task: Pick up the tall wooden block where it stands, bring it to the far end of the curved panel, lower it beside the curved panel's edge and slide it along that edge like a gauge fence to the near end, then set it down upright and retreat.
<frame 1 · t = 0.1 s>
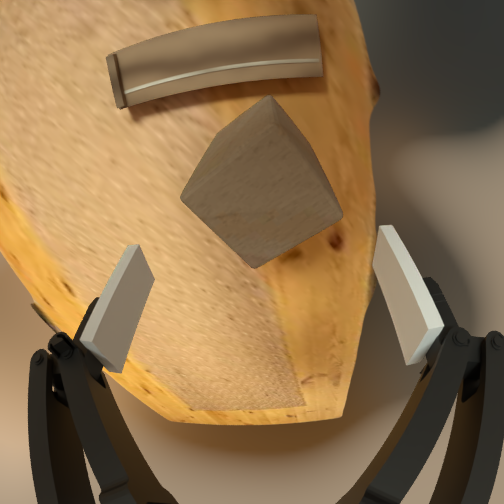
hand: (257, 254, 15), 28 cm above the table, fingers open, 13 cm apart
wooden block: (263, 139, 38), on the table
curved panel: (212, 55, 30), on the table
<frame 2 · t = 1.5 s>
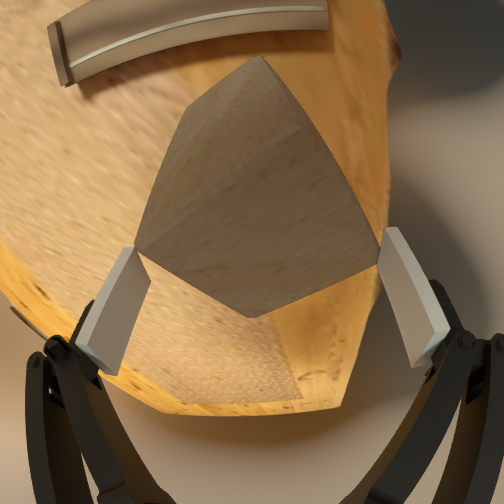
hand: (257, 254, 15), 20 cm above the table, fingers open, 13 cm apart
wooden block: (249, 112, 27), on the table, touching gripper
curved panel: (178, 8, 18), on the table
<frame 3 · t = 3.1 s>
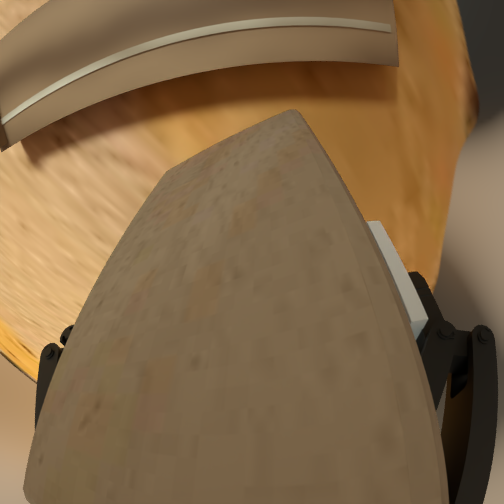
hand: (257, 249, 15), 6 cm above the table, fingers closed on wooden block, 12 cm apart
wooden block: (259, 197, 20), on the table, touching gripper, hand
curved panel: (145, 21, 11), on the table
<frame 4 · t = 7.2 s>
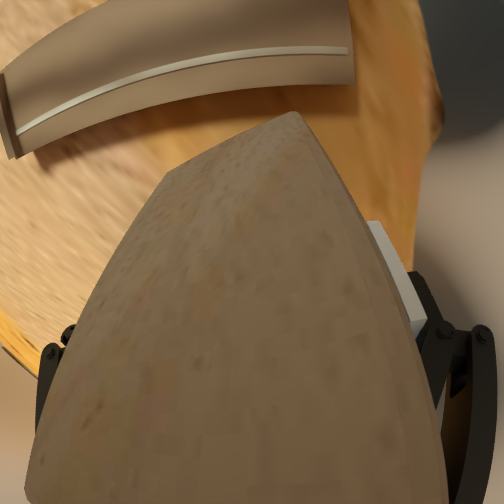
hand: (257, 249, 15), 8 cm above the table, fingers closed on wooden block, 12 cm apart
wooden block: (260, 198, 20), point 2 cm above the table, touching gripper, hand
curved panel: (140, 50, 14), on the table
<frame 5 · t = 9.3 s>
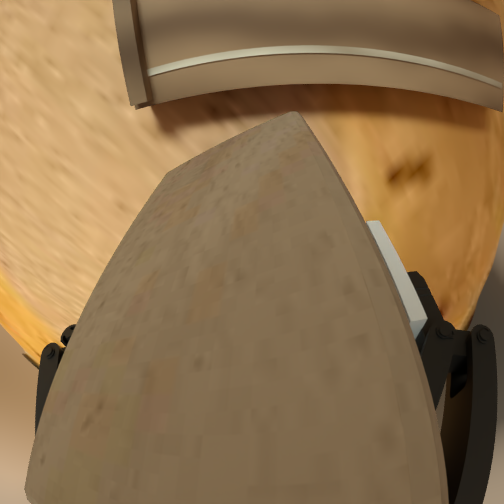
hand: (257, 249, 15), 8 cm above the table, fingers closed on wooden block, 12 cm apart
wooden block: (260, 198, 20), point 2 cm above the table, touching gripper, hand
curved panel: (338, 24, 13), on the table
when the fingers open (7 cm above the table, at t = 11.3 s): wooden block drops 1 cm, on the table.
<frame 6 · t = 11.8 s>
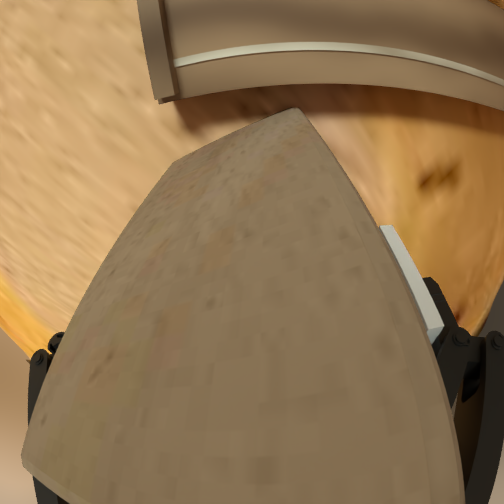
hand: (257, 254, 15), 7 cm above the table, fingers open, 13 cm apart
wooden block: (260, 190, 20), on the table
curved panel: (375, 23, 12), on the table
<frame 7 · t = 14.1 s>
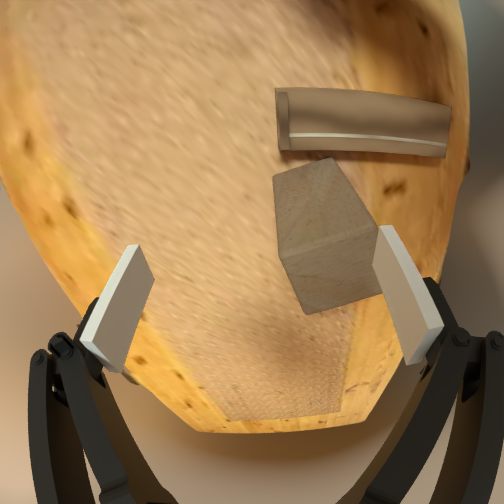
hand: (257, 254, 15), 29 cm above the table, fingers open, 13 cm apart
wooden block: (310, 191, 44), on the table
curved panel: (368, 119, 35), on the table
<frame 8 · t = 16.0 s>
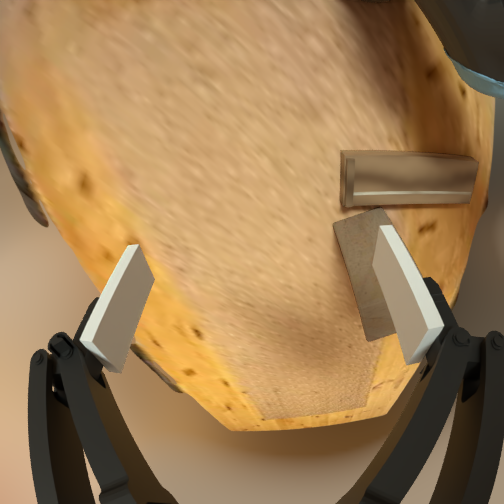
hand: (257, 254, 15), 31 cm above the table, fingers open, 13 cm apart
wooden block: (362, 233, 50), on the table
curved panel: (412, 175, 42), on the table
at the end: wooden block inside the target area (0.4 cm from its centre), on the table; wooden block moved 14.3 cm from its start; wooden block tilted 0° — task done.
